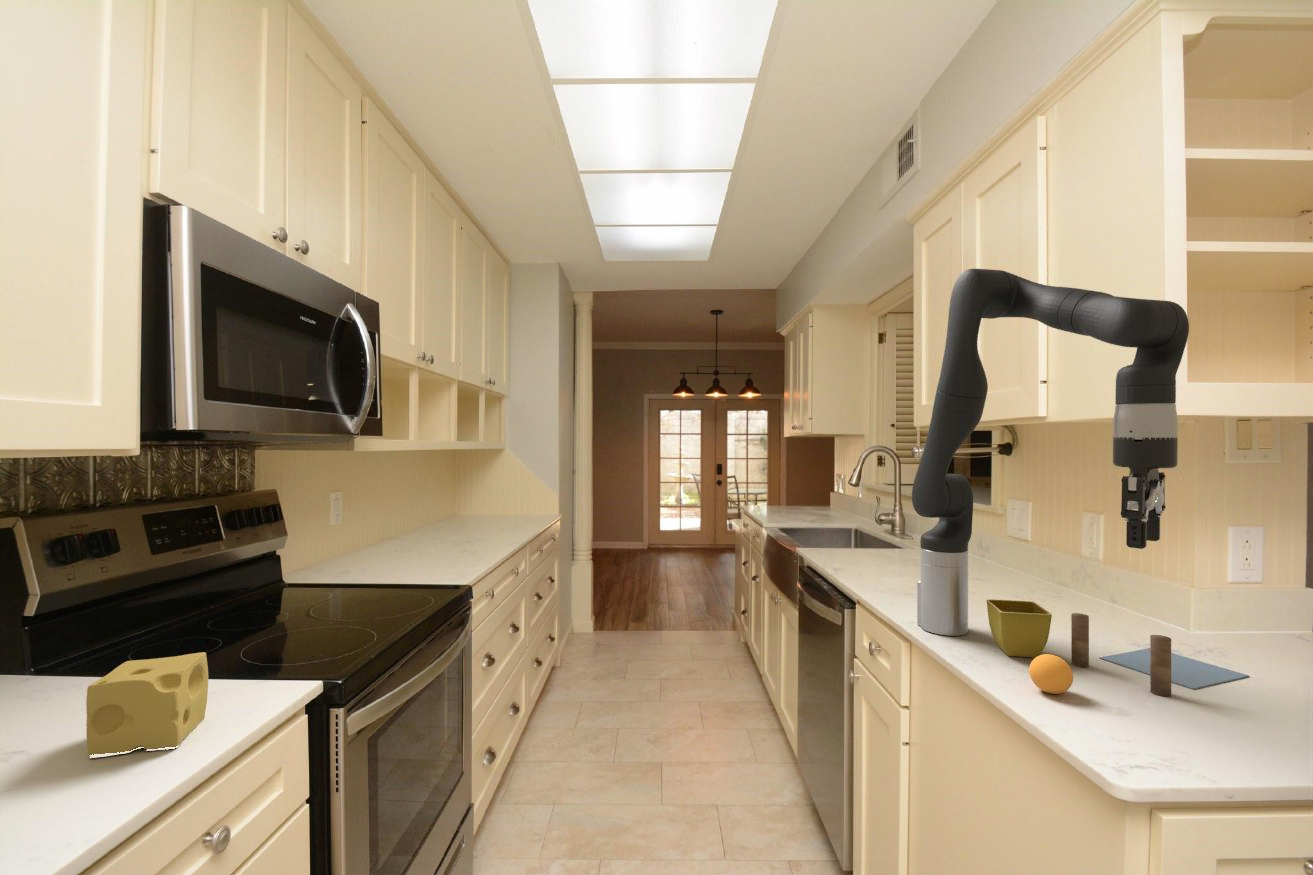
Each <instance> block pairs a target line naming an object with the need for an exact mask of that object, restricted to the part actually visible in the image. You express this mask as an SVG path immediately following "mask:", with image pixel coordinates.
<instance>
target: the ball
mask: <svg viewBox="0 0 1313 875" xmlns="http://www.w3.org/2000/svg"><path fill="white" fill-rule="evenodd" d="M1028 672H1029V676H1030V679H1031V680H1032V682H1033V684H1034V685H1035V686H1036V687H1037V688H1038V689H1039V690H1041V691H1042V692H1045V693H1048V694H1051V695H1052V694H1053V695H1059V694H1063V693H1065V692H1067V691H1068V690H1070V688H1071V687H1072V685H1073V681H1074V673H1073V669H1072V668H1071V666H1070V664H1069V663H1067V662H1066V660H1064V659H1062V658H1061V657H1060V656H1058V655H1054V654H1050V653H1049V654H1048V653H1044V654H1039V655H1038V656H1037V657H1035V658H1034V657H1033V659H1032V660H1031V662H1030V664H1029V671H1028Z"/></svg>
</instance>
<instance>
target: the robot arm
mask: <svg viewBox="0 0 1313 875" xmlns="http://www.w3.org/2000/svg"><path fill="white" fill-rule="evenodd" d="M951 290H952V291H951V295H950V299H949V300H950V301H949V308H948V321H947V328H946V329H947V330H946V337H945V339H946V340H945V346H944V351H943V352H944V353H943V357H942V363H941V369H940V373H939V374H940V375H939V378H938V382H937V386H936V391H935V395H934V402H933V406H932V413H931V417H930V418H931V419H930V423H929V426H928V427H929V428H928V432H927V436H926V439H925V440H926V441H925V444H924V448H923V451H922V453H921V454H922V455H921V457H920V460H919V465H918V467H917V471H916V473H915V477H914V480H913V484H912V489H911V503H912V507H913V509H914V511H915V512H916V514H917V515H918V516H920V517H922V518H929V519H930V518H937V519H938V521H937V523H936V524H935V525H934V526H933V528H931V529H929V530H927V531H925V532H923V533H922V534H921V537H920V540H919V541H920V542H919V543H920V545H919V546H920V580H918V581H917V583H916V588H917V589H916V590H917V591H916V593H917V594H916V596H917V598H916V599H917V600H916V604H917V605H916V608H917V609H916V610H917V611H916V612H917V613H916V615H917V616H916V620H917V622H916V624H917V625H918V626H920V629H922V630H923V631H926V632H929V633H933V634H936V635H942V636H951V637H952V636H958V637H959V636H965V635H966V634H968V633H969V551H968V550H969V543H970V541H971V538H972V533H973V514H974V492H973V489H972V485H971V483H970V481H969V480H968V479H967V477H965V475H962V474H958V473H948V472H949V467H950V464H951V462H952V460H953V457H954V456H955V454H956V453H957V451H958V450H959V448H961V446H962V445H963V444H964V442H965V441H966V440H967V439H968V438H969V436H970V435H972V433H973V432H974V430H975V429H976V427H977V426H978V425H979V423H980V421H981V419H982V416H983V413H984V412H983V411H984V409H985V405H986V401H987V400H986V399H987V395H988V391H989V390H988V388H989V386H988V385H989V384H988V378H987V376H986V372H985V370H984V369H985V368H984V367H983V363H982V360H981V358H980V354H979V348H978V339H979V338H978V337H979V333H980V332H979V331H980V327H981V322H982V319H988V320H989V319H990V320H991V319H992V320H993V319H998V318H1023V319H1026V318H1027V319H1030V320H1034V321H1037V322H1040V323H1041V324H1044V325H1045V326H1047V327H1049V328H1052V329H1056V330H1060V331H1063V332H1068V333H1072V334H1076V335H1081V336H1086V337H1091V338H1093V339H1096V340H1099V341H1101V342H1104V343H1107V344H1109V345H1114V346H1119V347H1124V348H1136V351H1135V356H1134V359H1133V361H1132V363H1131V364H1128V365H1126V366H1123V367H1121V368H1120V369H1118V371H1117V373H1116V377H1115V406H1114V408H1115V409H1114V415H1113V419H1112V422H1113V424H1112V425H1113V428H1112V429H1113V430H1112V464H1113V465H1114V466H1115V467H1120V468H1128V469H1129V475H1128V476H1127V475H1125V476H1124V475H1123V476H1122V478H1121V501H1120V502H1121V503H1120V504H1121V505H1120V506H1121V510H1120V517H1121V518H1122V519H1124V521H1125V522H1126V535H1125V536H1126V542H1125V543H1126V546H1127V547H1128V548H1130V549H1139V550H1141V549H1145V548H1146V547H1147V541H1148V542H1157V541H1160V539H1161V517H1162V515H1163V513H1164V511H1165V510H1166V502H1165V500H1166V499H1165V498H1166V496H1165V495H1166V494H1165V490H1166V489H1165V488H1166V486H1165V484H1166V474H1165V472H1163V471H1160V472H1159V469H1174V468H1176V467H1177V466H1178V445H1179V444H1178V442H1179V441H1178V440H1179V439H1178V438H1179V437H1178V436H1179V433H1178V430H1179V423H1178V422H1179V421H1178V412H1177V405H1176V402H1177V397H1176V396H1177V390H1176V389H1177V386H1176V385H1177V382H1176V381H1177V380H1176V379H1177V378H1176V377H1177V373H1178V370H1179V367H1180V364H1181V362H1182V359H1183V356H1184V352H1185V349H1186V346H1187V345H1186V344H1187V342H1188V338H1189V334H1190V333H1189V332H1190V323H1189V318H1188V315H1187V313H1186V311H1185V309H1184V307H1183V306H1181V305H1180V304H1179V303H1177V302H1174V301H1170V300H1159V299H1146V298H1133V297H1123V296H1116V295H1115V296H1114V295H1112V294H1110V293H1107V292H1103V291H1096V290H1090V289H1083V288H1076V287H1069V286H1068V287H1067V286H1055V285H1054V286H1052V285H1047V284H1042V283H1038V282H1036V281H1035V282H1034V281H1032V280H1029V279H1027V278H1024V277H1021V276H1018V275H1017V274H1014V273H1011V272H1008V271H1005V270H1002V269H989V268H988V269H987V268H969V269H966V270H964V271H962V273H960V274H959V276H958V277H957V278H956V280H955V282H954V285H953V288H952V289H951Z"/></svg>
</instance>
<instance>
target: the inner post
mask: <svg viewBox="0 0 1313 875" xmlns="http://www.w3.org/2000/svg"><path fill="white" fill-rule="evenodd" d="M1070 617H1071V623H1070V624H1071V626H1070V627H1071V629H1070V630H1071V632H1070V633H1071V642H1070V644H1071V647H1070V648H1071V649H1070V650H1071V665H1072V666H1073V667H1078V668H1081V669H1082V668H1083V669H1084V668H1085V669H1086V668H1089V667H1090V616H1089V615H1088V614H1084V613H1081V612H1073V613H1071V616H1070Z"/></svg>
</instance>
